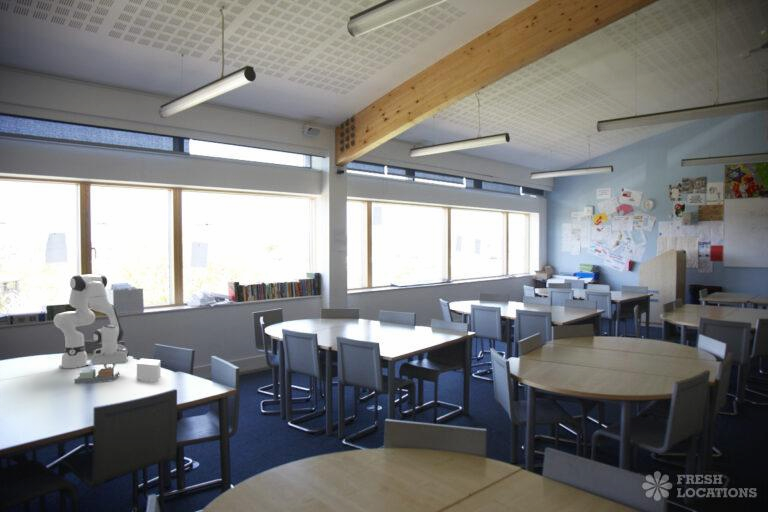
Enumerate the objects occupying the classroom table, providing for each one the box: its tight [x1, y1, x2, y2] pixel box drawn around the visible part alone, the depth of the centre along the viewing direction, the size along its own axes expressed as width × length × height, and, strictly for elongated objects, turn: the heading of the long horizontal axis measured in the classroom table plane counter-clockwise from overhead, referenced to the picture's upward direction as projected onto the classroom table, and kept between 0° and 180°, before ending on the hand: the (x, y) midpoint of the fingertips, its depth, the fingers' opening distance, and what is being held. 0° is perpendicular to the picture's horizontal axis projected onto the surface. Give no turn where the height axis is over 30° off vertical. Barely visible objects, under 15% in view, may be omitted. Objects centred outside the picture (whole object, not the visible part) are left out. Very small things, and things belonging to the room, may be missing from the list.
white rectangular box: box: [136, 357, 161, 382], centre depth 304 cm, size 14×29×10 cm, turn 46°
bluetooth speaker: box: [117, 343, 130, 358], centre depth 358 cm, size 23×9×10 cm, turn 36°
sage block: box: [79, 368, 96, 379], centre depth 296 cm, size 8×7×6 cm
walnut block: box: [97, 366, 115, 377], centre depth 302 cm, size 15×7×6 cm, turn 19°
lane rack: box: [74, 371, 120, 384], centre depth 300 cm, size 15×22×2 cm
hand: (109, 370), depth 309 cm, fingers closed on walnut block
